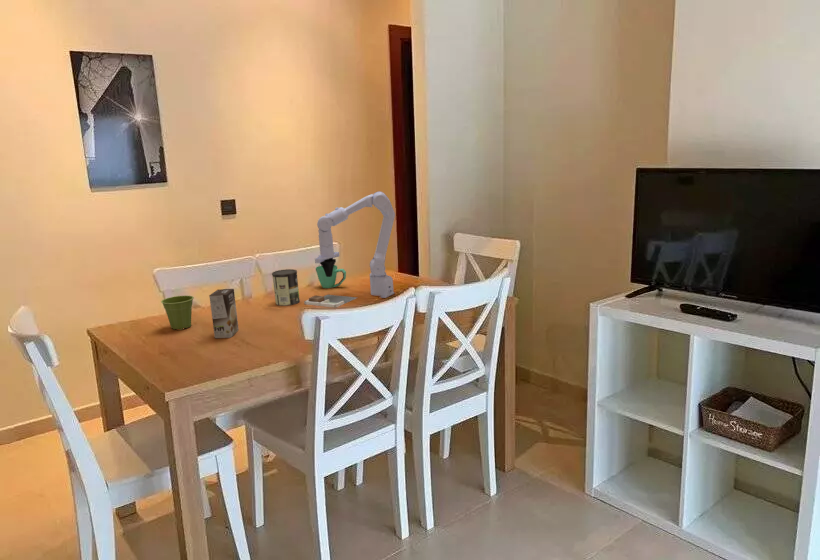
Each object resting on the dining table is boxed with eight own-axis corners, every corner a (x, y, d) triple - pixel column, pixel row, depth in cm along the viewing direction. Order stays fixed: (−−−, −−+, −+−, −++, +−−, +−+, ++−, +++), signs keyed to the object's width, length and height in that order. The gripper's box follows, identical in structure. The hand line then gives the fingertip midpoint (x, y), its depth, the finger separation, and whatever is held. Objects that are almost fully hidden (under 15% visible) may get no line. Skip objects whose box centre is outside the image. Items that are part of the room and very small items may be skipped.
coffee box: (231, 337, 229) (226, 294, 226) (214, 338, 230) (208, 295, 226) (239, 329, 238) (234, 288, 235) (222, 330, 239) (216, 289, 235)
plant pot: (202, 326, 245) (198, 298, 243) (172, 334, 238) (167, 305, 235) (190, 320, 254) (186, 293, 251) (160, 328, 246) (156, 300, 244)
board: (358, 299, 271) (357, 294, 271) (335, 309, 258) (335, 304, 257) (327, 296, 279) (327, 291, 279) (304, 306, 266) (304, 301, 265)
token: (324, 302, 267) (324, 296, 266) (317, 304, 263) (317, 299, 262) (316, 301, 269) (315, 295, 268) (309, 304, 265) (308, 298, 265)
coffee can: (297, 299, 276) (294, 267, 273) (302, 305, 267) (298, 272, 264) (273, 303, 273) (270, 271, 270) (277, 309, 264) (273, 275, 260)
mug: (313, 290, 291) (311, 269, 288) (324, 285, 299) (322, 264, 297) (341, 292, 285) (339, 270, 282) (352, 286, 293) (350, 265, 291)
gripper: (328, 241, 277) (331, 272, 280) (308, 247, 265) (311, 279, 268) (342, 242, 274) (344, 273, 277) (321, 248, 261) (324, 280, 265)
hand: (329, 276), depth 272 cm, fingers closed
